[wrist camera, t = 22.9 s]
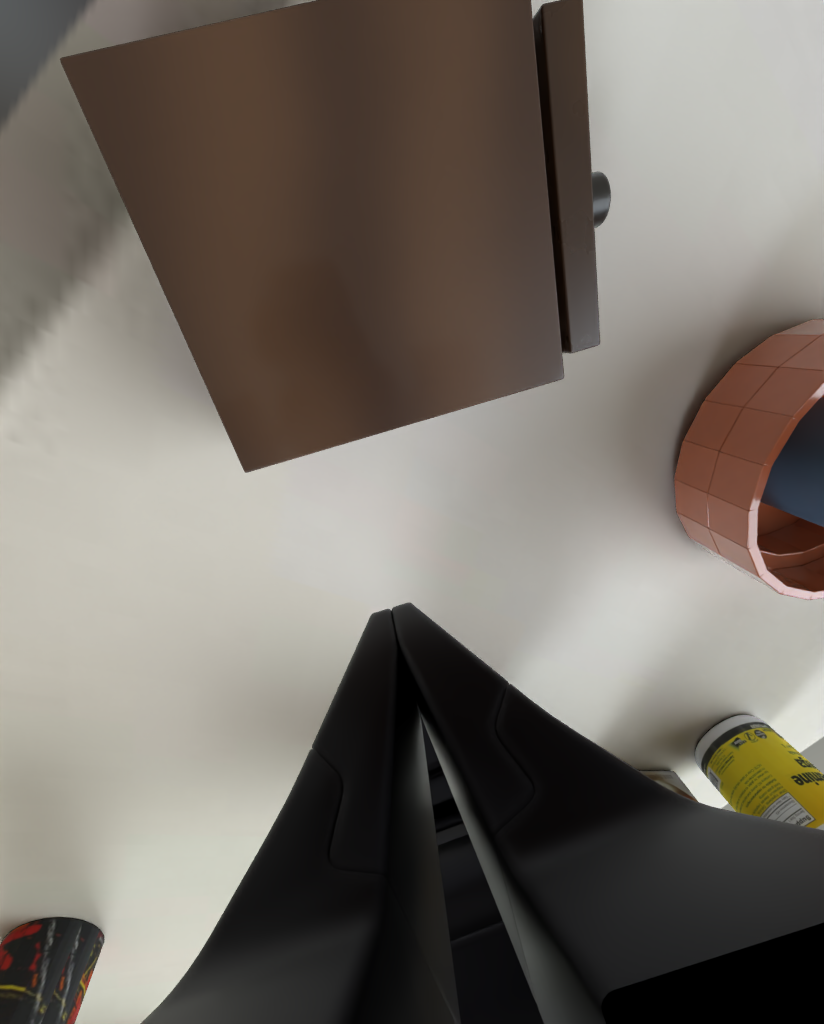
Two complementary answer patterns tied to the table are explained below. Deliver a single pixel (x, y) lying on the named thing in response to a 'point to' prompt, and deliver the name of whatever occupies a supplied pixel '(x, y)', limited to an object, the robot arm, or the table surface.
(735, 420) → the bowl
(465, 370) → the cabinet
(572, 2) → the drawer
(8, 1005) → the deodorant
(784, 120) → the table surface
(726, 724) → the pill bottle
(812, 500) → the lidded jar
